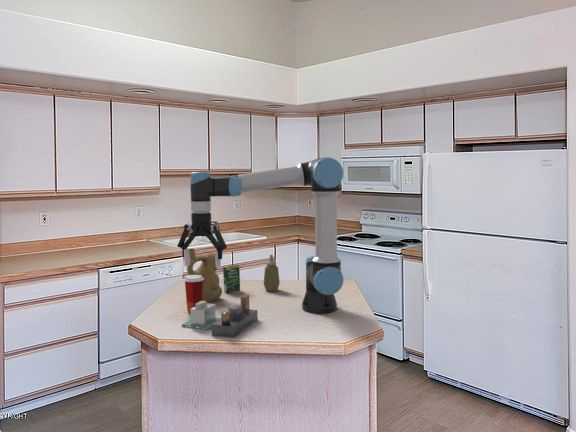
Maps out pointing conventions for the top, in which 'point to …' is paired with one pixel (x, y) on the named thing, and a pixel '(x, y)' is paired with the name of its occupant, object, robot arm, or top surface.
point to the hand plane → (235, 319)
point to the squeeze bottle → (271, 276)
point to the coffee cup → (193, 290)
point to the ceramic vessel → (206, 275)
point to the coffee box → (231, 278)
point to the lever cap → (202, 313)
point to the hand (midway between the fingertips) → (202, 266)
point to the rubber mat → (200, 325)
